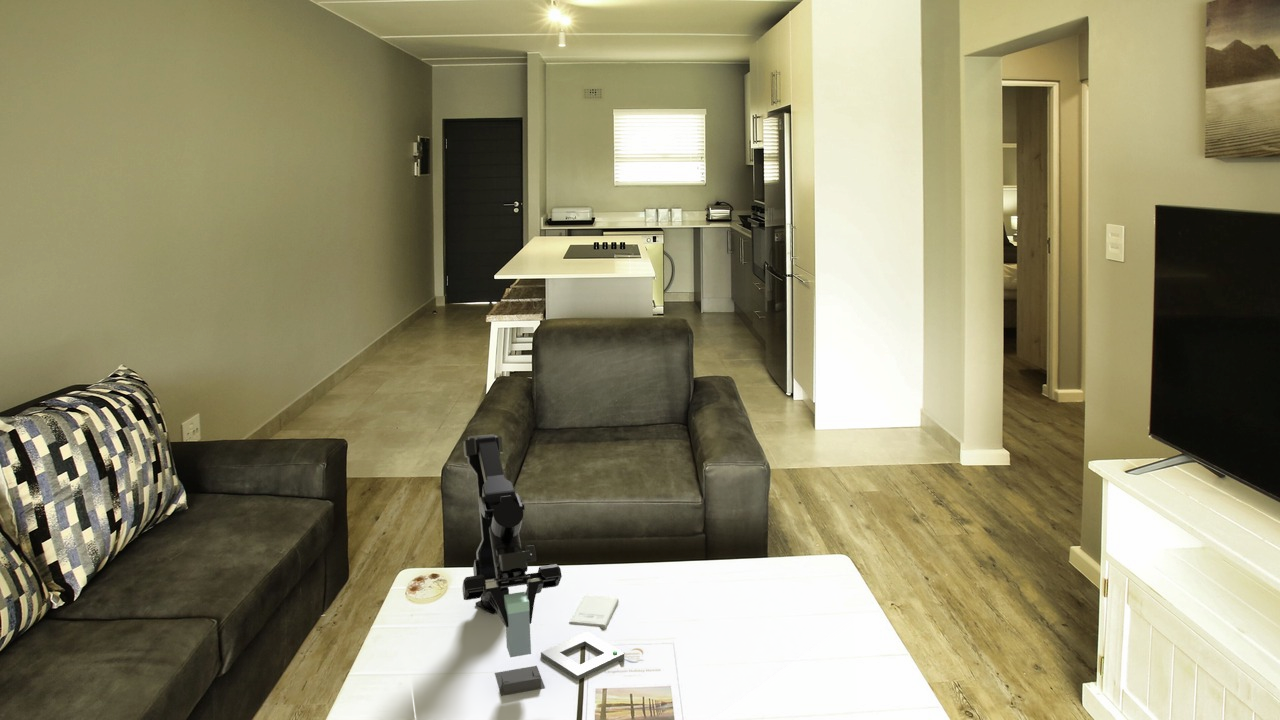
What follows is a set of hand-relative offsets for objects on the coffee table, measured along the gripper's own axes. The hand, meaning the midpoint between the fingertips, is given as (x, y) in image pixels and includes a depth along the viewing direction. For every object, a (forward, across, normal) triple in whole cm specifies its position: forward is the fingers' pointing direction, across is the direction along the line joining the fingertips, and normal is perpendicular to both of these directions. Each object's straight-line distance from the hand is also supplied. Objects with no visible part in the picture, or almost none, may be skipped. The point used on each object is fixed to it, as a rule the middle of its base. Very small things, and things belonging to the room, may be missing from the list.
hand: (518, 624), depth 177 cm
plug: (+3, 0, +5) cm, 6 cm away
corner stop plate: (+8, 0, +10) cm, 13 cm away
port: (+5, +14, +13) cm, 20 cm away
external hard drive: (-7, +21, +27) cm, 34 cm away
